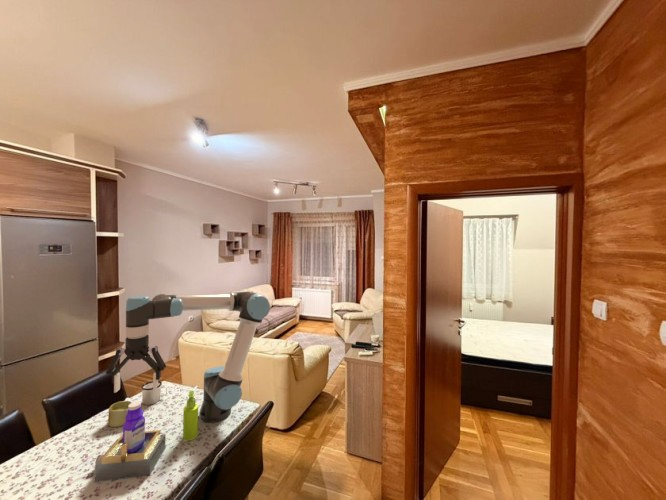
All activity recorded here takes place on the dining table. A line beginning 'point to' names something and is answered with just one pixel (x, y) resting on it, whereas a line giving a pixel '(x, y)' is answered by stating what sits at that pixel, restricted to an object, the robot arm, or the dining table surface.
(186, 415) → the soap dispenser
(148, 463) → the grey and tan box
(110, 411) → the mug
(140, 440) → the bottle
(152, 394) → the mug
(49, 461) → the dining table surface
